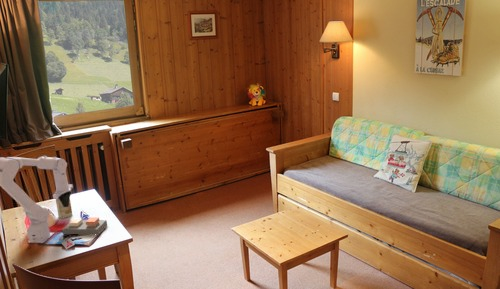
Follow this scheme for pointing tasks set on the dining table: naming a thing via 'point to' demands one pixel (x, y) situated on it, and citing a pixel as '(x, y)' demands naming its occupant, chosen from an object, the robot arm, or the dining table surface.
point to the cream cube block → (75, 222)
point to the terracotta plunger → (92, 222)
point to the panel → (85, 228)
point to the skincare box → (63, 209)
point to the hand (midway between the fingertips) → (66, 206)
